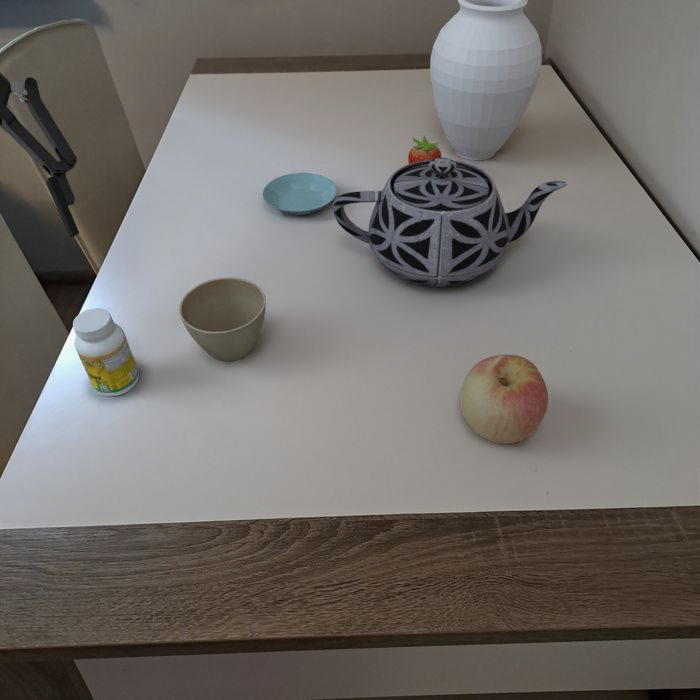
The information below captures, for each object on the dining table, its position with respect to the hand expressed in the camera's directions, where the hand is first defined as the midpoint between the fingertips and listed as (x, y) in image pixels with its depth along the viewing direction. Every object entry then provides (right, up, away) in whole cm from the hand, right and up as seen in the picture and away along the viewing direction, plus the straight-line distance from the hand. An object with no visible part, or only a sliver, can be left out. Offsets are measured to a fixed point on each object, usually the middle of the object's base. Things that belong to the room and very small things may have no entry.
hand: (36, 246), depth 71 cm
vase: (+57, +24, +44) cm, 76 cm away
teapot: (+48, +1, +21) cm, 52 cm away
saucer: (+27, +12, +33) cm, 44 cm away
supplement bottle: (+7, -15, +5) cm, 18 cm away
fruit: (+47, +16, +37) cm, 62 cm away
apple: (+51, -20, -1) cm, 55 cm away
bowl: (+20, -11, +9) cm, 25 cm away
